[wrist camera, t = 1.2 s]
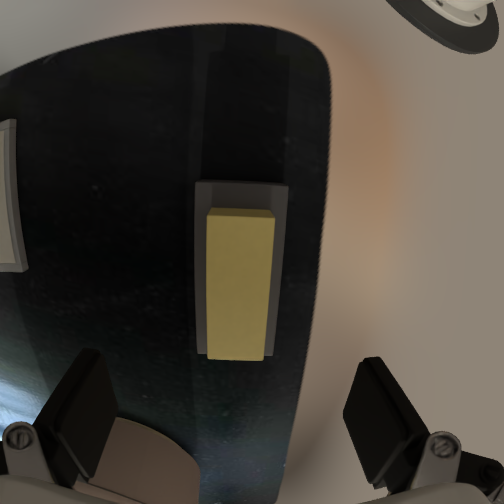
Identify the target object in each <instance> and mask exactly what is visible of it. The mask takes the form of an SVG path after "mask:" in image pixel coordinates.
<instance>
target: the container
mask: <svg viewBox="0 0 504 504" xmlns="http://www.w3.org/2000/svg"><path fill="white" fill-rule="evenodd" d="M199 483H200V469H199V466H198V464H197V463H196V461H195V460H194V459H193V458H192V457H191V456H190V455H189V454H188V453H187V452H185V451H184V450H183V449H182V448H181V447H180V446H179V445H177V444H176V443H175V442H174V441H172V440H171V439H169V438H168V437H166V436H165V435H163V434H161V433H159V432H158V431H155V430H153V429H151V428H149V427H147V426H145V425H142V424H139V423H137V422H134V421H131V420H127V419H123V418H119V417H116V419H115V421H114V424H113V426H112V429H111V431H110V434H109V437H108V439H107V442H106V445H105V447H104V450H103V453H102V456H101V459H100V461H99V464H98V467H97V470H96V473H95V475H94V477H93V478H90V479H89V482H88V484H85V483H82V482H79V481H76V482H75V485H74V488H75V490H76V491H78V492H81V493H84V494H87V495H91V496H94V497H98V498H101V499H105V500H109V501H113V502H117V503H121V504H198V496H199Z"/></svg>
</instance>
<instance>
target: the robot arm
mask: <svg viewBox="0 0 504 504" xmlns="http://www.w3.org/2000/svg"><path fill="white" fill-rule="evenodd" d="M422 1H423V2H424V3H425V4H426V5H427V6H429V7H430V8H431V9H433V10H434V11H435V12H437V13H438V14H440V15H441V16H443V17H445V18H446V19H448V20H450V21H452V22H454V23H456V24H459V25H462V26H468V27H472V26H476V25H479V24H481V23H483V21H484V20H485V19H486V16H487V5H486V4H489V3H491V2H493V1H495V0H422ZM117 413H118V403H117V400H116V397H115V394H114V391H113V387H112V384H111V380H110V377H109V373H108V369H107V366H106V362H105V358H104V356H103V355H102V354H100V352H99V350H95V349H89V348H83V349H82V351H81V352H80V353H79V355H78V356H77V358H76V359H75V360H74V362H73V363H72V365H71V366H70V368H69V369H68V371H67V372H66V373H65V375H64V376H63V378H62V379H61V381H60V382H59V384H58V385H57V387H56V388H55V390H54V391H53V393H52V394H51V396H50V397H49V399H48V400H47V402H46V404H45V405H44V407H43V408H42V410H41V412H40V413H39V415H38V416H37V418H36V420H35V421H34V423H33V425H31V424H29V423H27V422H22V421H20V422H15V423H12V424H10V425H9V426H7V428H6V429H5V430H4V432H3V435H2V441H0V504H121V503H117V502H113V501H109V500H105V499H101V498H98V497H94V496H91V495H87V494H84V493H81V492H78V491H76V490H75V488H74V485H75V482H76V481H79V482H82V483H85V484H88V482H89V479H90V478H93V477H94V475H95V473H96V470H97V467H98V464H99V461H100V459H101V456H102V453H103V450H104V447H105V445H106V442H107V439H108V437H109V434H110V431H111V429H112V426H113V424H114V421H115V419H116V416H117ZM343 419H344V421H345V424H346V427H347V429H348V431H349V434H350V437H351V439H352V442H353V444H354V447H355V450H356V452H357V455H358V458H359V460H360V463H361V465H362V468H363V471H364V473H365V476H366V479H367V481H368V483H370V484H373V487H374V489H379V488H382V487H387V489H388V491H389V492H388V495H387V497H383V498H380V499H376V500H372V501H368V502H364V503H360V504H504V467H503V466H502V465H501V463H499V462H498V461H496V460H494V459H490V458H486V457H482V456H479V455H475V454H471V453H468V452H465V451H461V443H460V441H459V439H458V438H457V437H456V436H454V435H453V434H452V433H449V432H445V431H439V432H435V433H432V434H430V433H429V431H428V429H427V427H426V425H425V424H424V422H423V421H422V419H421V418H420V416H419V414H418V413H417V412H416V410H415V408H414V407H413V405H412V404H411V402H410V401H409V399H408V398H407V396H406V395H405V393H404V391H403V390H402V388H401V387H400V386H399V384H398V382H397V381H396V380H395V378H394V377H393V375H392V374H391V372H390V371H389V369H388V368H387V366H386V365H385V363H384V362H383V360H382V359H381V358H380V357H369V358H364V360H363V362H360V363H359V365H358V368H357V371H356V375H355V377H354V381H353V384H352V387H351V390H350V393H349V396H348V398H347V401H346V404H345V407H344V410H343Z"/></svg>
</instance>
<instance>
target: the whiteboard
mask: <svg viewBox="0 0 504 504" xmlns="http://www.w3.org/2000/svg"><path fill="white" fill-rule="evenodd" d="M27 269H29V267H28V263H27V257H26V252H25V246H24V241H23V234H22V228H21V220H20V212H19V203H18V192H17V177H16V119H8V120H5V121H3V122H0V271H3V272H24V271H26V270H27Z"/></svg>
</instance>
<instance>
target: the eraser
mask: <svg viewBox="0 0 504 504" xmlns="http://www.w3.org/2000/svg"><path fill="white" fill-rule="evenodd" d="M288 188H289V187H288V186H287V185H285V184H283V183H276V182H259V181H238V180H208V179H201V180H199V181H197V182H195V212H194V272H195V313H196V337H197V353H202V354H207V355H208V359H221V360H263V358H264V356H272V355H273V350H274V341H275V332H276V323H277V313H278V304H279V294H280V283H281V273H282V262H283V251H284V239H285V227H286V215H287V202H288Z"/></svg>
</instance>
